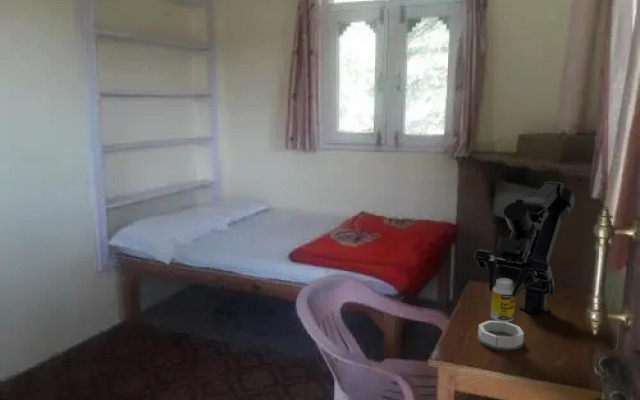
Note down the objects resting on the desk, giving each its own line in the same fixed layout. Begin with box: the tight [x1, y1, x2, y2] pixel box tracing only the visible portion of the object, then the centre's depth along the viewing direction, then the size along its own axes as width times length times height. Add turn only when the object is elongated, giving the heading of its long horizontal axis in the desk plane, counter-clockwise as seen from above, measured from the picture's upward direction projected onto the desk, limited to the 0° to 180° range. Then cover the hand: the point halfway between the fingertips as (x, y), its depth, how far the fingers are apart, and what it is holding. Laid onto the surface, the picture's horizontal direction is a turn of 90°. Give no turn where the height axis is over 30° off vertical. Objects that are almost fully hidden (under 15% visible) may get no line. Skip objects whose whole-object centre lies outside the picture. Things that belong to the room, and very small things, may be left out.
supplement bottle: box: [490, 277, 516, 323], centre depth 135 cm, size 6×6×10 cm
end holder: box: [477, 320, 525, 352], centre depth 137 cm, size 11×11×3 cm
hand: (501, 293), depth 134 cm, fingers closed on supplement bottle, 5 cm apart
